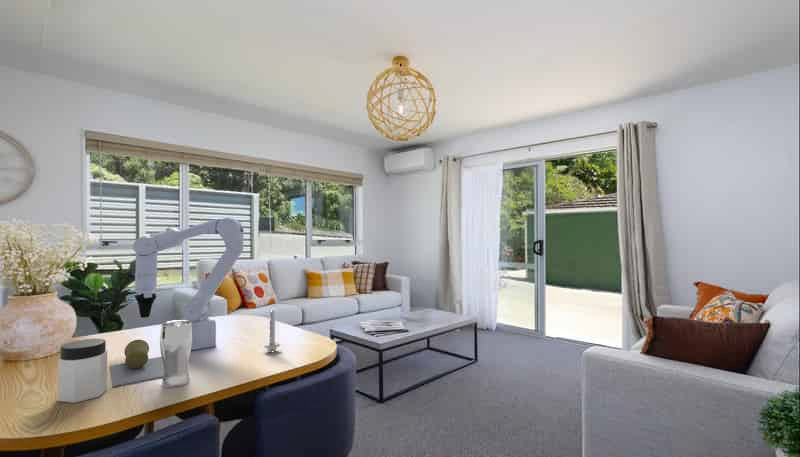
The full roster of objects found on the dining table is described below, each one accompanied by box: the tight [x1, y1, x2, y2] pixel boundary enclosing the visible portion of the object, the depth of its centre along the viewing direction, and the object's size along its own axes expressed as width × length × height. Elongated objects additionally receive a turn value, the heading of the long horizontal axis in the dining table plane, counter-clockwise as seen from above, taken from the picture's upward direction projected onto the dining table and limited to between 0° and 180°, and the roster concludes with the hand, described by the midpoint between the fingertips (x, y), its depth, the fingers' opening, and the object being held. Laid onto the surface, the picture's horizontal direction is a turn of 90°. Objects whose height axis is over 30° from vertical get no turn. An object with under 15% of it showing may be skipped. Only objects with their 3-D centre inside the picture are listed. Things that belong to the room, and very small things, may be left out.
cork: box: [124, 339, 150, 369], centre depth 108 cm, size 6×6×11 cm
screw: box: [263, 310, 281, 353], centre depth 122 cm, size 13×5×5 cm
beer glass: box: [159, 319, 192, 389], centre depth 96 cm, size 7×7×15 cm
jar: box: [57, 338, 108, 404], centre depth 89 cm, size 9×8×12 cm
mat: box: [109, 356, 164, 388], centre depth 105 cm, size 15×18×1 cm
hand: (144, 317), depth 122 cm, fingers closed
